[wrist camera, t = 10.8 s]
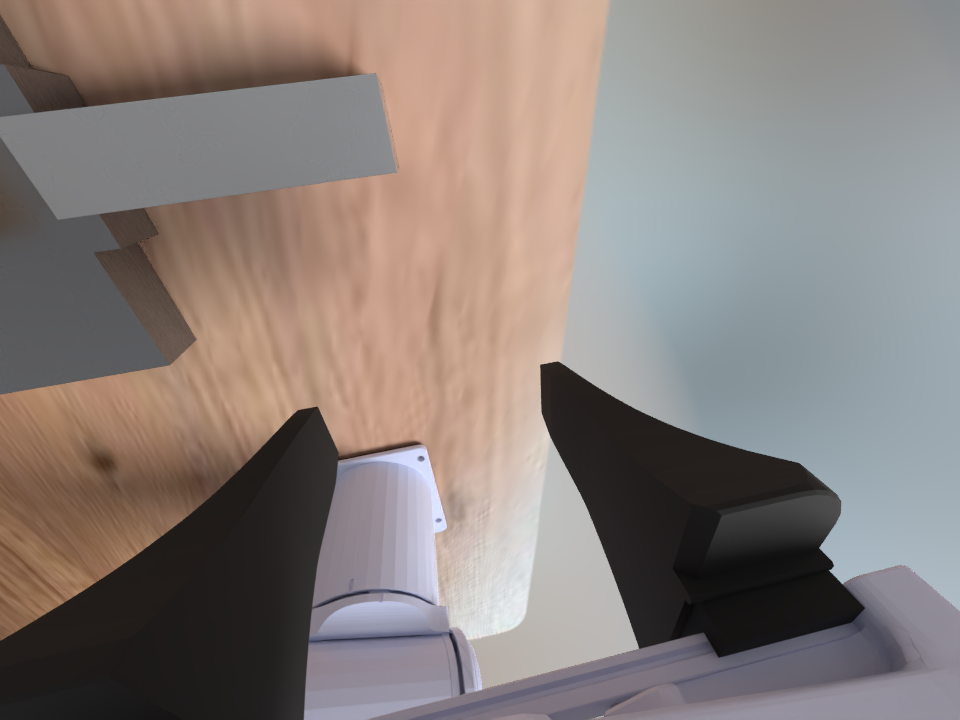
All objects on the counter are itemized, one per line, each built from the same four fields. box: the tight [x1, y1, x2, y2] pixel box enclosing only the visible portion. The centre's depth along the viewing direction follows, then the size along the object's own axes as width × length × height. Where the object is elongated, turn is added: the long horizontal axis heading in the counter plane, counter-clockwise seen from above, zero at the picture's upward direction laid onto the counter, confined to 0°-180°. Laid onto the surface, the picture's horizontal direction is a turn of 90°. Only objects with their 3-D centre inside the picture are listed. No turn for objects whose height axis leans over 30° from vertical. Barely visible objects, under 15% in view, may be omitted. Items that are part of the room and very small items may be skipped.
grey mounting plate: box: [0, 16, 399, 394], centre depth 13 cm, size 16×27×3 cm, turn 96°
